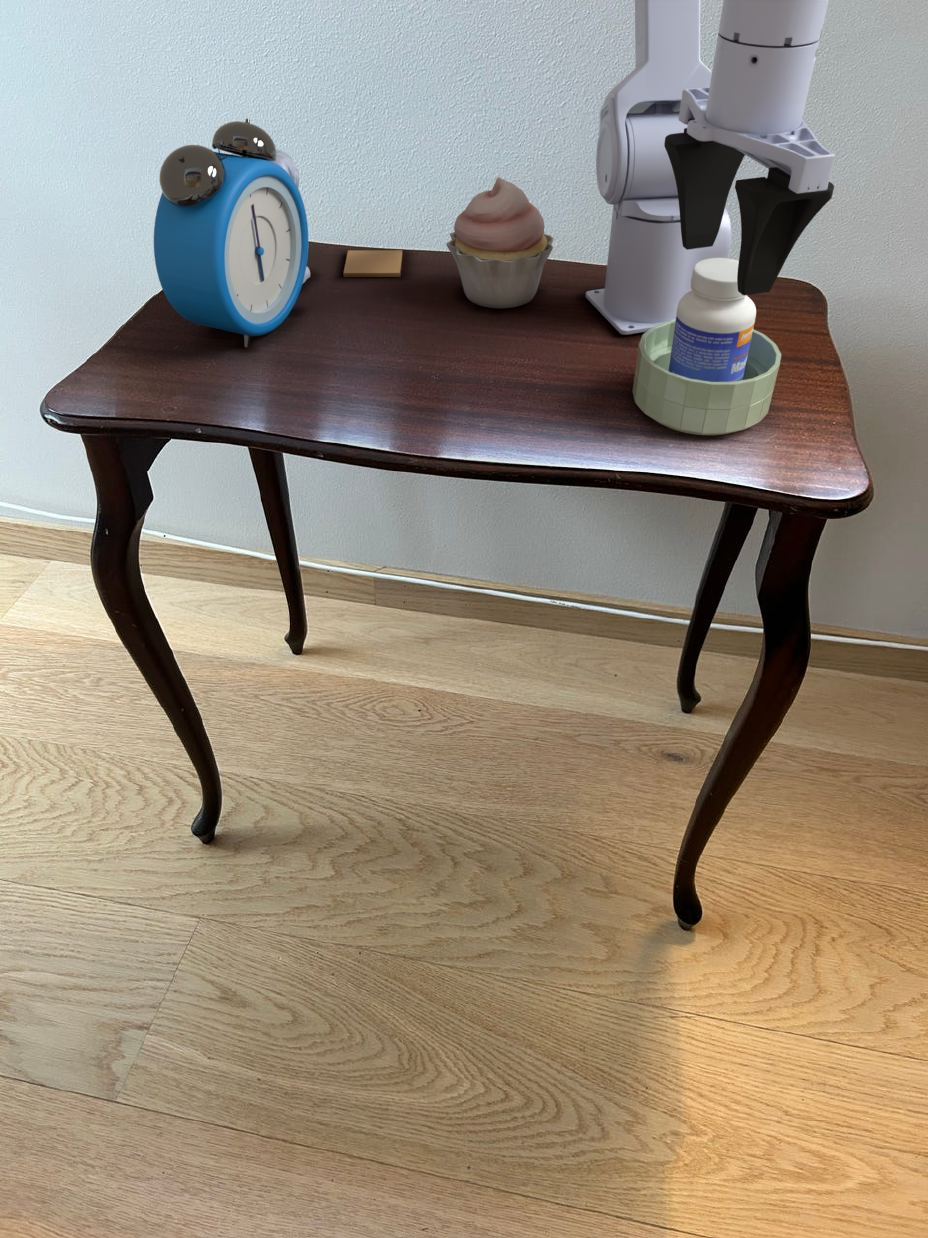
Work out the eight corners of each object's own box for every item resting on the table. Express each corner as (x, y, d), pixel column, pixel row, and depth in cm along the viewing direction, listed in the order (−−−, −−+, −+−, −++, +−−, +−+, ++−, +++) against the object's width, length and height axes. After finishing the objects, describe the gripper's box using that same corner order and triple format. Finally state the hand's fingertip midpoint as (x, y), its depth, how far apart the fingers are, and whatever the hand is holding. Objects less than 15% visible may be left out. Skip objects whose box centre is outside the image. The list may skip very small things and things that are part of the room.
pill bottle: (737, 420, 68) (767, 289, 62) (661, 412, 69) (682, 282, 63) (737, 383, 72) (765, 256, 66) (665, 376, 73) (685, 249, 67)
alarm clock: (235, 367, 76) (197, 168, 65) (170, 352, 77) (124, 156, 67) (318, 298, 84) (297, 113, 74) (259, 286, 86) (230, 103, 76)
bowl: (724, 363, 76) (735, 309, 73) (793, 427, 69) (808, 371, 66) (610, 383, 74) (617, 328, 70) (669, 451, 67) (679, 393, 64)
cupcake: (440, 277, 88) (437, 161, 81) (540, 270, 89) (545, 156, 82) (453, 321, 81) (452, 199, 74) (561, 314, 82) (569, 192, 75)
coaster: (402, 253, 92) (402, 249, 91) (400, 276, 88) (400, 272, 88) (348, 254, 92) (347, 250, 91) (343, 277, 88) (343, 272, 87)
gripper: (649, 13, 59) (624, 234, 68) (774, 73, 49) (725, 323, 58) (750, 6, 61) (712, 223, 70) (892, 62, 50) (825, 307, 60)
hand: (724, 267), depth 64 cm, fingers open, 7 cm apart
